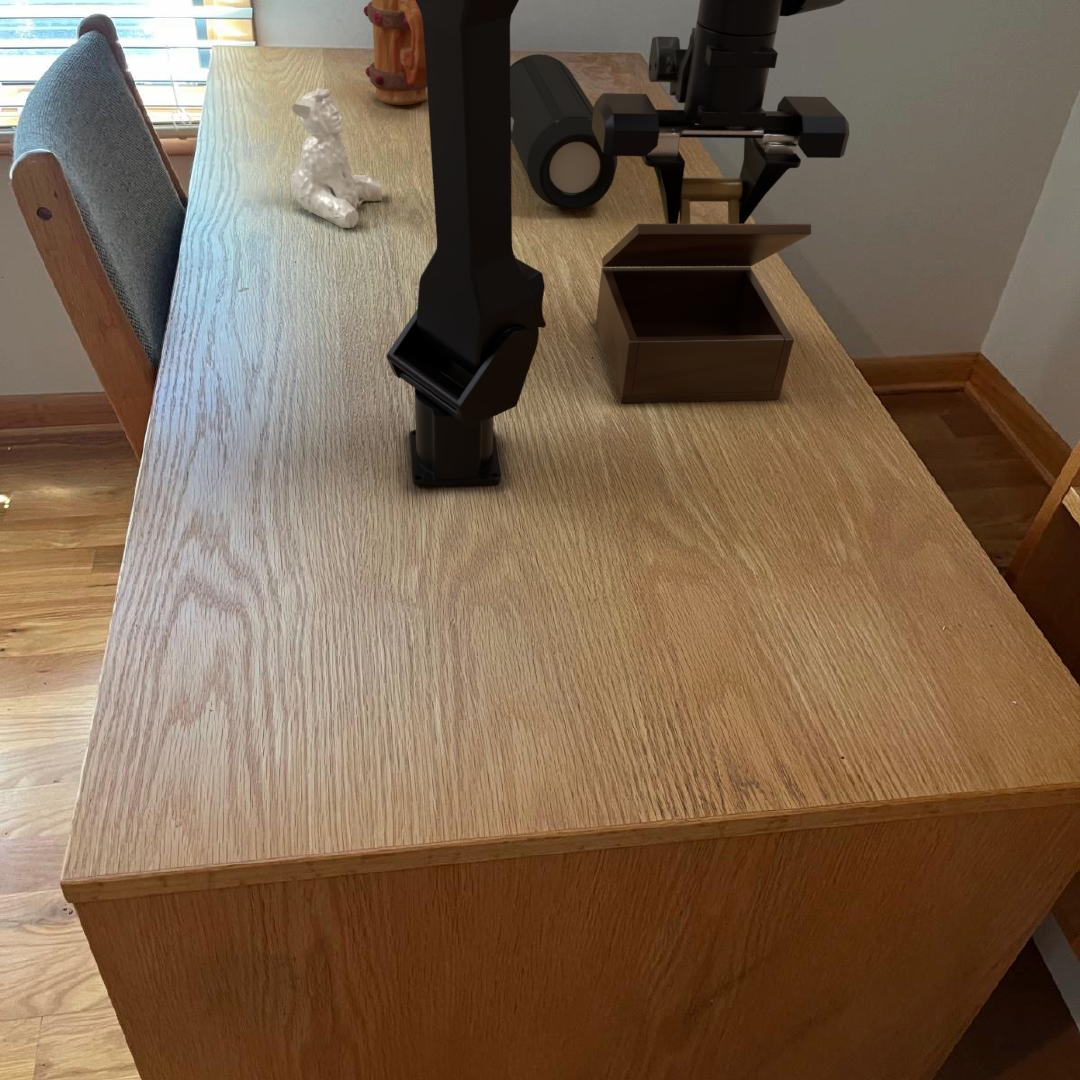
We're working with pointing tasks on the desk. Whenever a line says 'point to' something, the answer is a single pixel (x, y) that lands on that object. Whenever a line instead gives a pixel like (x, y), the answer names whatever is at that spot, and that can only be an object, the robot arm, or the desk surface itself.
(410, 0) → the mug
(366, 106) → the desk surface
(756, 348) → the keepsake box
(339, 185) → the white creature statuette
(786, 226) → the lid
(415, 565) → the desk surface
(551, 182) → the portable speaker
